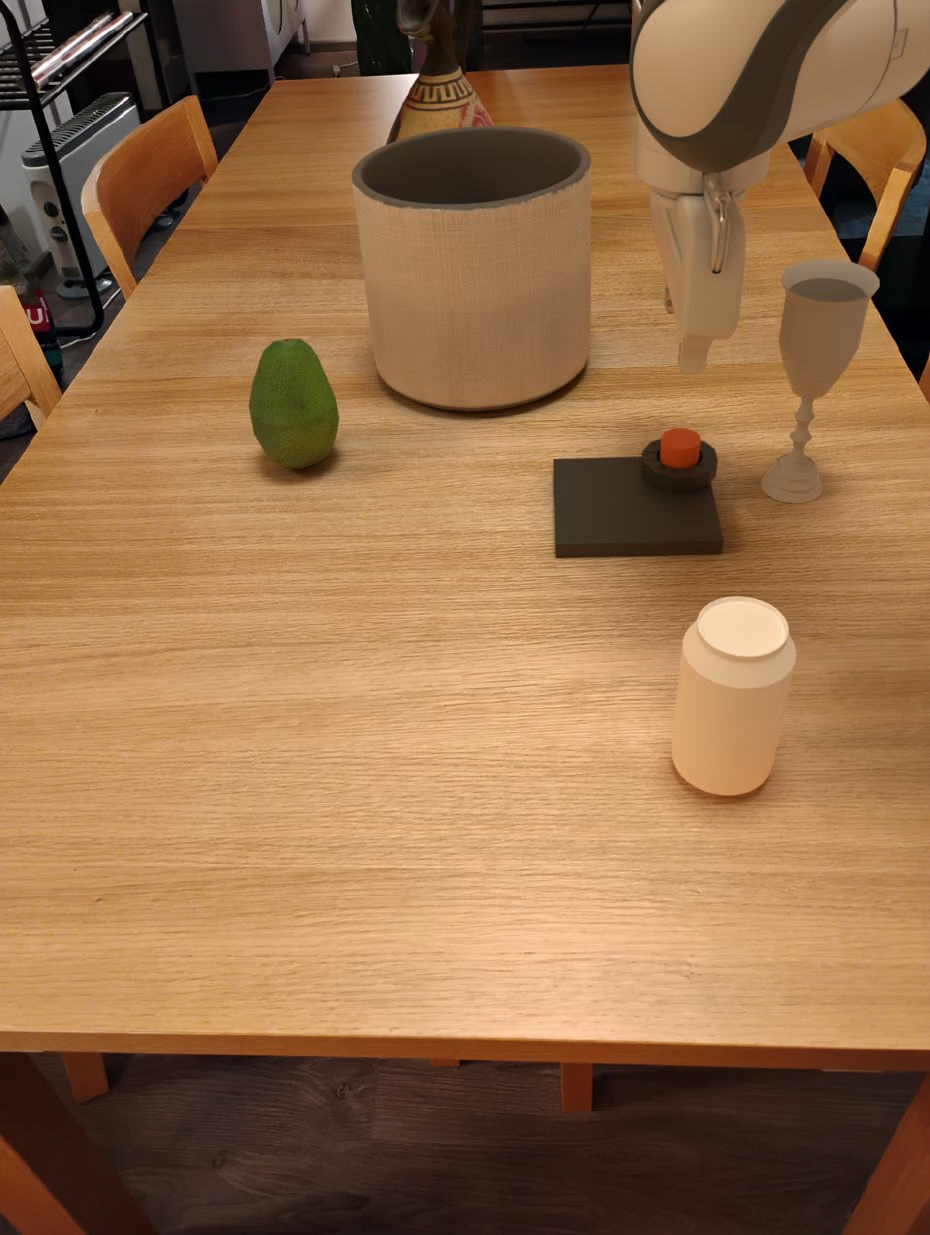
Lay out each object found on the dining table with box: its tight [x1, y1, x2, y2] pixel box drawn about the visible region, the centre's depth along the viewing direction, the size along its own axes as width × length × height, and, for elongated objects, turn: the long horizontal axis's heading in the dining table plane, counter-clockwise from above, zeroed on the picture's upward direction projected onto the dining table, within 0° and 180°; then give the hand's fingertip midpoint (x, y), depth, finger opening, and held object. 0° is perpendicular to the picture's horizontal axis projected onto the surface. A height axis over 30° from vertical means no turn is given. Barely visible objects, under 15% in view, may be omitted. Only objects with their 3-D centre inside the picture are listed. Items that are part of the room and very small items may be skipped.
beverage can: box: [671, 595, 797, 796], centre depth 59 cm, size 6×6×12 cm
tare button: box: [660, 427, 702, 469], centre depth 83 cm, size 3×3×2 cm
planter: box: [351, 125, 592, 413], centre depth 96 cm, size 22×22×20 cm
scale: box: [552, 438, 725, 558], centre depth 82 cm, size 14×12×3 cm
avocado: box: [248, 338, 340, 470], centre depth 88 cm, size 8×8×12 cm
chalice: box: [760, 258, 880, 504], centre depth 78 cm, size 7×7×18 cm
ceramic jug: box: [385, 0, 495, 145], centre depth 117 cm, size 17×15×30 cm
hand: (682, 338), depth 75 cm, fingers open, 8 cm apart
